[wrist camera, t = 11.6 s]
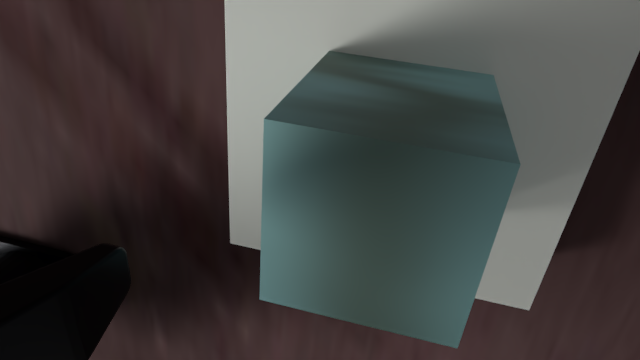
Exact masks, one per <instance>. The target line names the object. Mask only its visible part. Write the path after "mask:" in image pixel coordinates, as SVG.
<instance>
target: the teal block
mask: <svg viewBox="0 0 640 360" xmlns="http://www.w3.org/2000/svg"><path fill="white" fill-rule="evenodd" d="M520 165H521V164H520V161H519V157H518V154H517V151H516V148H515V144H514V141H513V138H512V134H511V131H510V128H509V125H508V121H507V118H506V115H505V111H504V108H503V105H502V101H501V98H500V95H499V92H498V88H497V85H496V82H495V78H494V75H490V74H484V73H477V72H470V71H463V70H457V69H450V68H443V67H436V66H429V65H423V64H416V63H409V62H402V61H395V60H389V59H382V58H375V57H368V56H362V55H355V54H348V53H341V52H334V51H329V52H328V53H327V54H326V55H325V56H324V57H323V58H322V59H321V60H320V61H319V62H318V63H317V64H316V65H315V66H314V67H313V68H312V69H311V70H310V71H309V72H308V73H307V74H306V75H305V76H304V78H303V79H302V80H301V81H300V82H299V83H298V84H297V85H296V86H295V87H294V88H293V89H292V90H291V91H290V92H289V93H288V94H287V95H286V96H285V97H284V98H283V99H282V100H281V101H280V103H279V104H278V105H277V106H276V107H275V108H274V109H273V110H272V111H271V112H270V113H269V114H268V115H267V116H266V117H265V118H264V133H263V174H262V215H261V256H260V298H259V300H263V301H267V302H271V303H275V304H279V305H283V306H288V307H292V308H296V309H300V310H304V311H308V312H312V313H316V314H320V315H324V316H328V317H332V318H336V319H340V320H344V321H348V322H352V323H356V324H361V325H365V326H369V327H373V328H377V329H381V330H385V331H389V332H393V333H397V334H401V335H405V336H409V337H413V338H417V339H421V340H425V341H429V342H434V343H438V344H442V345H446V346H450V347H454V348H458V345H459V342H460V339H461V336H462V334H463V331H464V328H465V325H466V322H467V319H468V316H469V313H470V310H471V307H472V304H473V301H474V299H475V296H476V293H477V290H478V287H479V284H480V281H481V278H482V275H483V272H484V269H485V267H486V264H487V261H488V258H489V255H490V252H491V249H492V246H493V243H494V240H495V237H496V234H497V232H498V229H499V226H500V223H501V220H502V217H503V214H504V211H505V208H506V205H507V202H508V200H509V197H510V194H511V191H512V188H513V185H514V182H515V179H516V176H517V173H518V170H519V167H520Z"/></svg>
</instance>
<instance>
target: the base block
mask: <svg viewBox="0 0 640 360" xmlns="http://www.w3.org/2000/svg"><path fill="white" fill-rule="evenodd" d="M225 40H226V85H227V129H228V173H229V218H230V243H231V244H236V245H240V246H244V247H249V248H253V249H258V250H261V215H262V174H263V133H264V118H265V117H266V116H267V115H268V114H269V113H270V112H271V111H272V110H273V109H274V108H275V107H276V106H277V105H278V104H279V103H280V101H281V100H282V99H283V98H284V97H285V96H286V95H287V94H288V93H289V92H290V91H291V90H292V89H293V88H294V87H295V86H296V85H297V84H298V83H299V82H300V81H301V80H302V79H303V78H304V76H305V75H306V74H307V73H308V72H309V71H310V70H311V69H312V68H313V67H314V66H315V65H316V64H317V63H318V62H319V61H320V60H321V59H322V58H323V57H324V56H325V55H326V54H327V53H328V52H329V51H334V52H341V53H348V54H355V55H362V56H368V57H375V58H382V59H389V60H395V61H402V62H409V63H416V64H423V65H429V66H436V67H443V68H450V69H457V70H463V71H470V72H477V73H484V74H490V75H494V78H495V82H496V85H497V88H498V92H499V95H500V98H501V101H502V105H503V108H504V111H505V115H506V118H507V121H508V125H509V128H510V131H511V134H512V138H513V141H514V144H515V148H516V151H517V154H518V157H519V161H520V164H521V165H520V167H519V170H518V173H517V176H516V179H515V182H514V185H513V188H512V191H511V194H510V197H509V200H508V202H507V205H506V208H505V211H504V214H503V217H502V220H501V223H500V226H499V229H498V232H497V234H496V237H495V240H494V243H493V246H492V249H491V252H490V255H489V258H488V261H487V264H486V267H485V269H484V272H483V275H482V278H481V281H480V284H479V287H478V290H477V293H476V296H475V298H476V299H481V300H485V301H490V302H494V303H499V304H503V305H508V306H512V307H516V308H521V309H525V310H529V309H530V307H531V305H532V302H533V300H534V298H535V295H536V293H537V291H538V288H539V286H540V284H541V281H542V279H543V277H544V274H545V272H546V270H547V267H548V265H549V262H550V260H551V258H552V255H553V253H554V251H555V248H556V246H557V244H558V241H559V239H560V237H561V234H562V232H563V230H564V227H565V225H566V223H567V220H568V218H569V215H570V213H571V211H572V208H573V206H574V204H575V201H576V199H577V197H578V194H579V192H580V190H581V187H582V185H583V183H584V180H585V178H586V176H587V173H588V171H589V169H590V166H591V164H592V161H593V159H594V157H595V154H596V152H597V150H598V147H599V145H600V143H601V140H602V138H603V136H604V133H605V131H606V129H607V126H608V124H609V122H610V119H611V117H612V114H613V112H614V110H615V107H616V105H617V103H618V100H619V98H620V96H621V93H622V91H623V89H624V86H625V84H626V82H627V79H628V77H629V75H630V72H631V70H632V67H633V65H634V63H635V60H636V58H637V56H638V53H639V51H640V0H225Z"/></svg>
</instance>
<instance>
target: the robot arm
mask: <svg viewBox="0 0 640 360" xmlns="http://www.w3.org/2000/svg"><path fill="white" fill-rule="evenodd" d="M130 284H131V277H130V271H129V265H128V259H127V253H126V251H125V249H124V248H122V247H120V246H115V245H111V244H106V243H103V244H99V245H97V246H94V247H92V248H89V249H87V250H84V251H82V252H80V253H77V254H75V255H72V254H69V253H66V252H62V251H58V250H54V249H50V248H45V247H41V246H37V245H33V244H29V243H25V242H21V241H17V240H13V239H9V238H4V237H0V360H88V359H89V358H90V356H91V355H92V353H93V351H94V350H95V348H96V346H97V345H98V343H99V341H100V339H101V338H102V336H103V334H104V332H105V331H106V329H107V327H108V326H109V324H110V322H111V320H112V319H113V317H114V315H115V313H116V312H117V310H118V308H119V307H120V305H121V303H122V301H123V300H124V298H125V296H126V294H127V293H128V291H129V288H130Z"/></svg>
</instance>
